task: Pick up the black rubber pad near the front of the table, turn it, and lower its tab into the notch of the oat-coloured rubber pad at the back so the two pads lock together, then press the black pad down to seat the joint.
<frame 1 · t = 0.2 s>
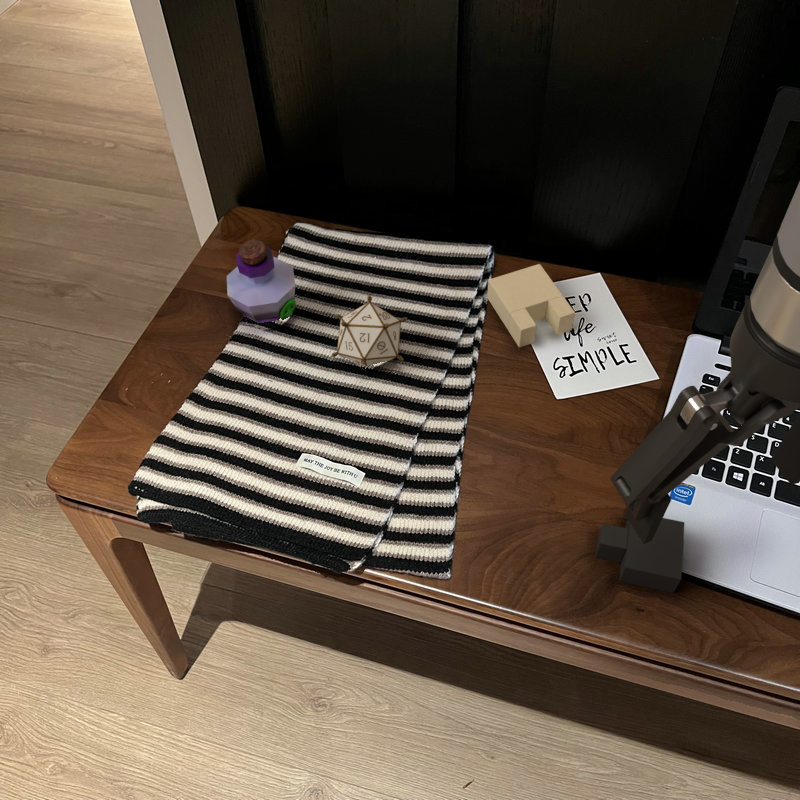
hand: (712, 499, 62), 16 cm above the table, tool pointing down, fingers open, 13 cm apart
game die: (371, 360, 93), on the table
black pad: (646, 562, 76), on the table
base pad: (522, 310, 97), on the table
potion bottle: (271, 321, 98), on the table
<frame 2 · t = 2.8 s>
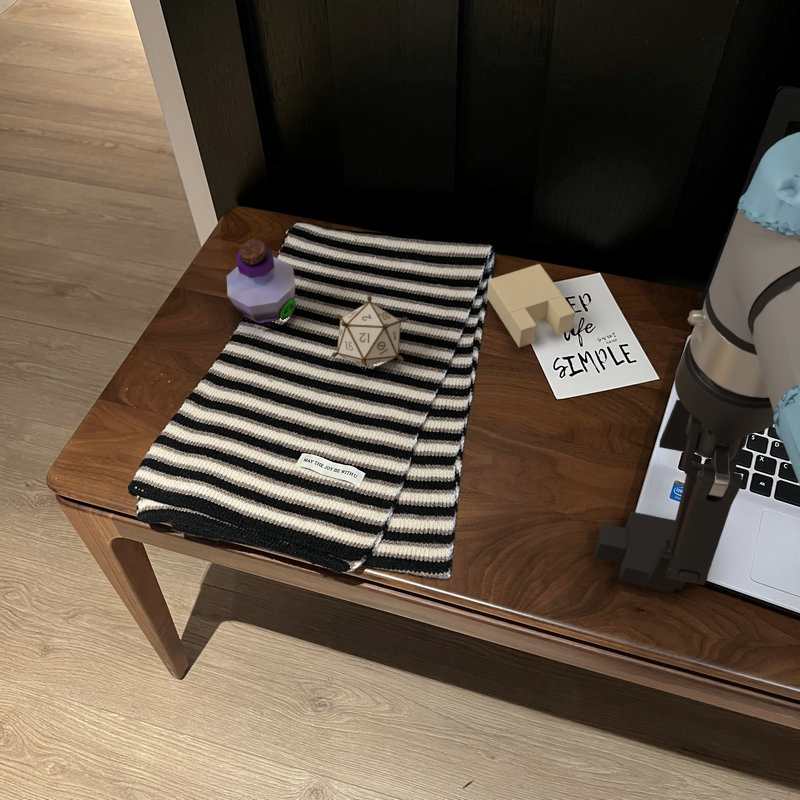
hand: (669, 510, 68), 10 cm above the table, tool pointing down, fingers open, 13 cm apart
nothing on the table moved.
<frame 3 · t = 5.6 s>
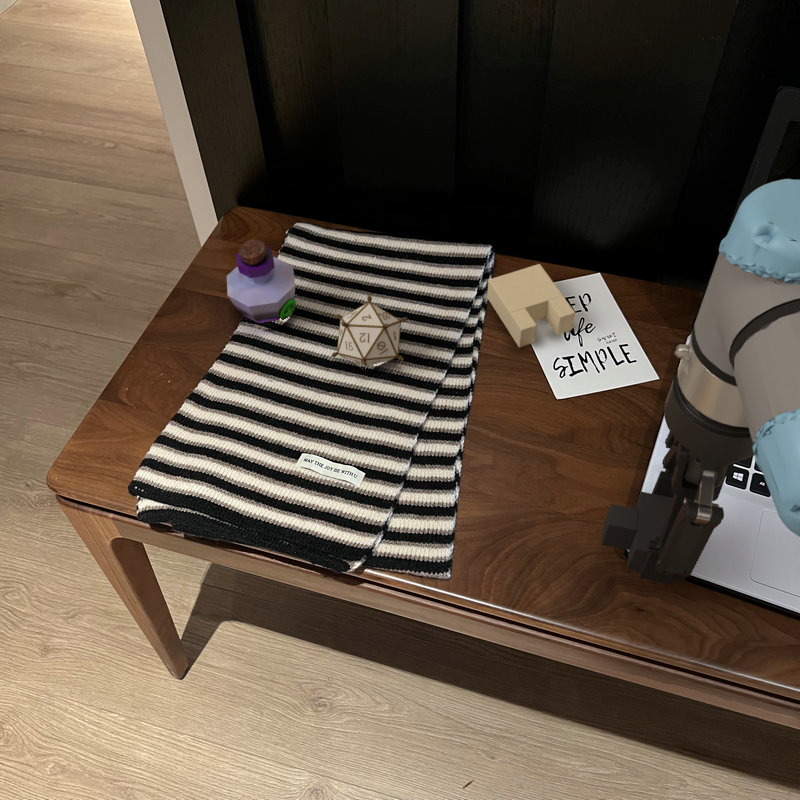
hand: (658, 544, 72), 5 cm above the table, tool pointing down, fingers closed on black pad, 6 cm apart
black pad: (657, 546, 72), point 4 cm above the table, touching gripper
everything else where it was.
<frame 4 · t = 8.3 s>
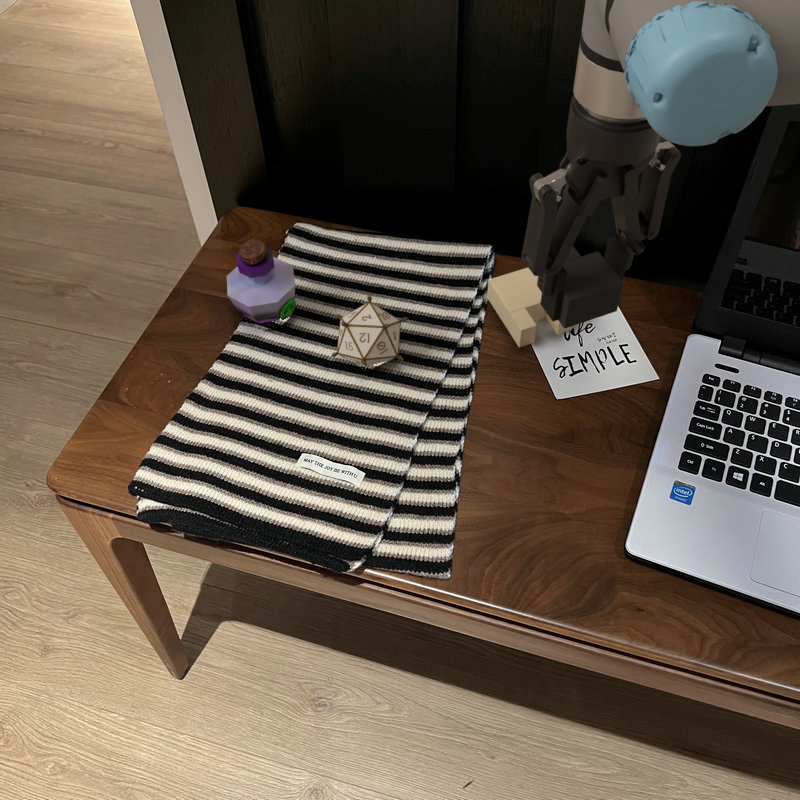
hand: (579, 301, 80), 13 cm above the table, tool pointing down, fingers closed on black pad, 6 cm apart
black pad: (578, 303, 80), point 12 cm above the table, touching gripper
everything else where it was.
when the fingers open (0 cm above the table, at t = 11.5 s): black pad stays where it is, on the table.
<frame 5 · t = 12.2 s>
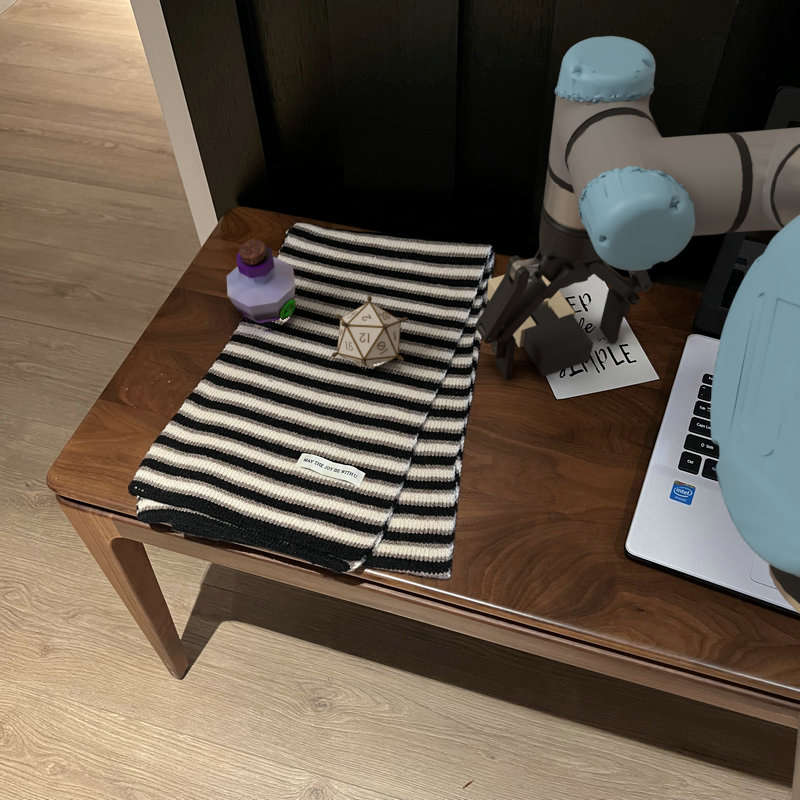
hand: (556, 352, 91), 1 cm above the table, tool pointing down, fingers open, 13 cm apart
black pad: (555, 358, 92), on the table
everything else where it was.
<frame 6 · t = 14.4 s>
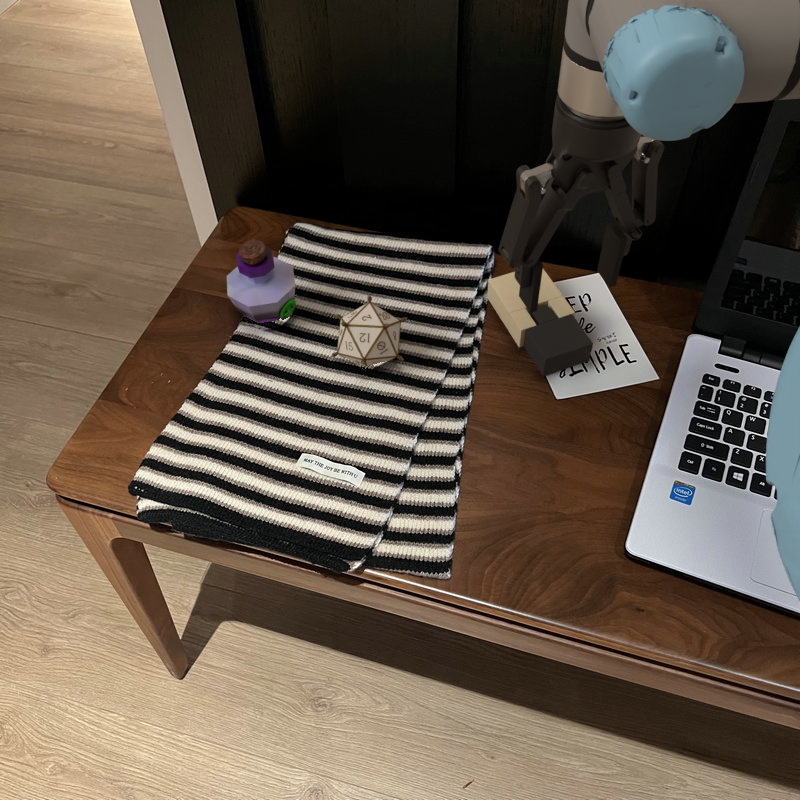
hand: (567, 290, 83), 11 cm above the table, tool pointing down, fingers open, 9 cm apart
nothing on the table moved.
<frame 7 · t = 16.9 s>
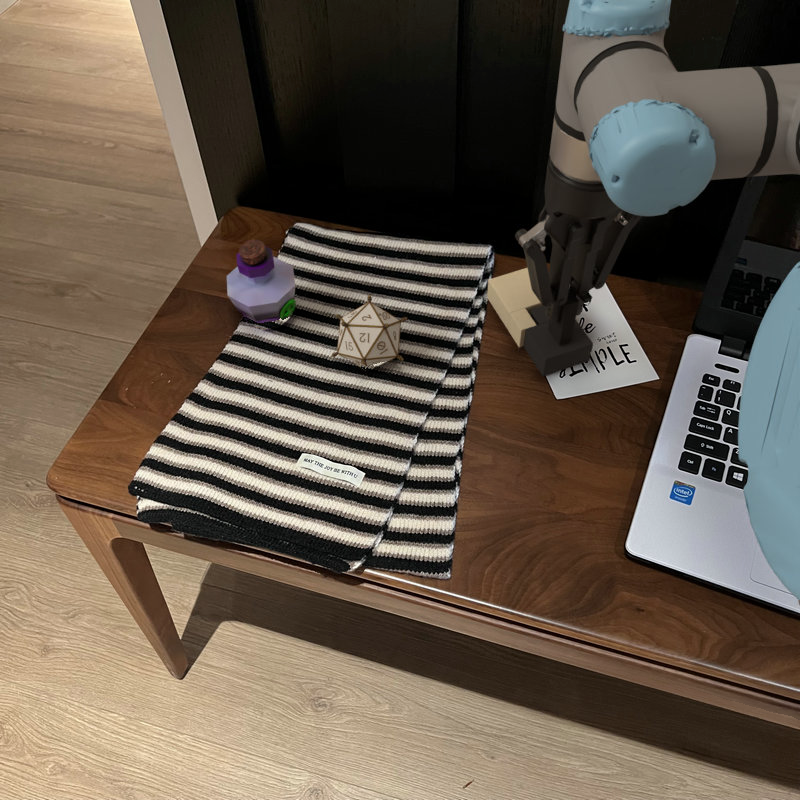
hand: (559, 335, 88), 4 cm above the table, tool pointing down, fingers closed
black pad: (555, 358, 92), on the table, touching gripper
everything else where it was.
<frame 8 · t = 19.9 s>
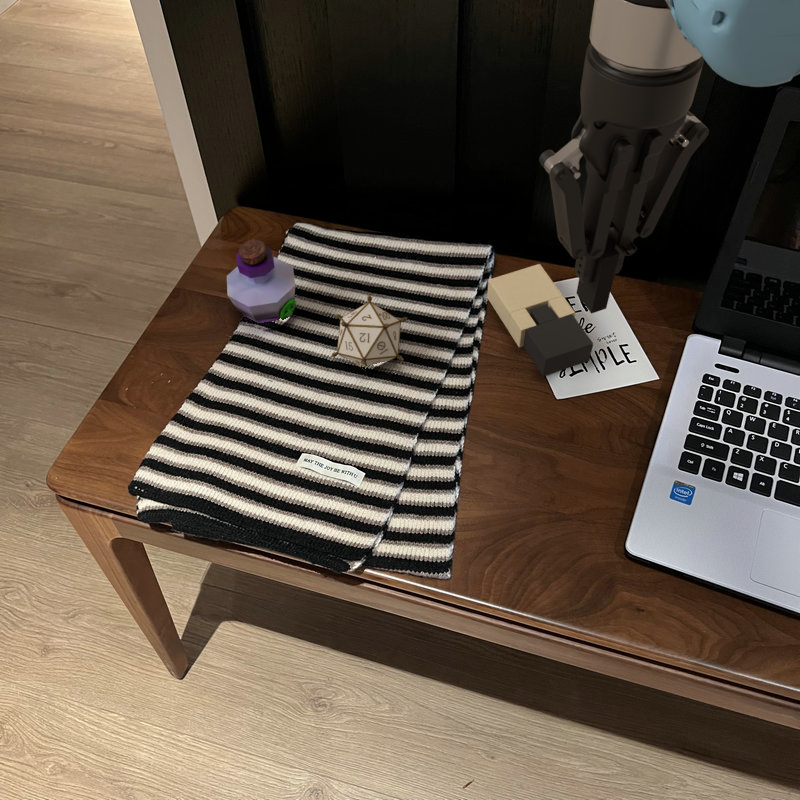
hand: (591, 300, 69), 20 cm above the table, tool pointing down, fingers closed
black pad: (555, 358, 92), on the table
everything else where it was.
at the end: black pad 0.1 cm from the target spot on the table beside the base pad, on the table; black pad tilted 0°; the gripper is holding nothing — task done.
